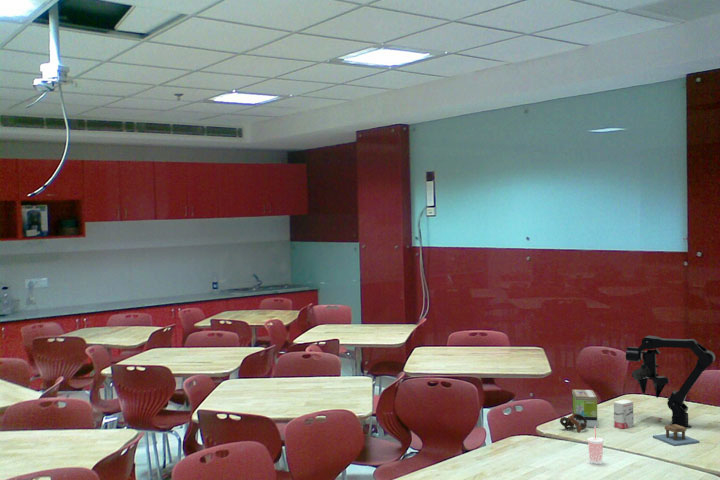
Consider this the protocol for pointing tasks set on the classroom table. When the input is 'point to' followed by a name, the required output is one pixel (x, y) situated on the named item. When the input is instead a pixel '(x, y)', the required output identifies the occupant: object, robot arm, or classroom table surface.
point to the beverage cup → (595, 449)
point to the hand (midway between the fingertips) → (650, 395)
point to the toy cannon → (574, 422)
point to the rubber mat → (679, 439)
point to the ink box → (623, 414)
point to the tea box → (585, 406)
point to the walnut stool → (675, 430)
